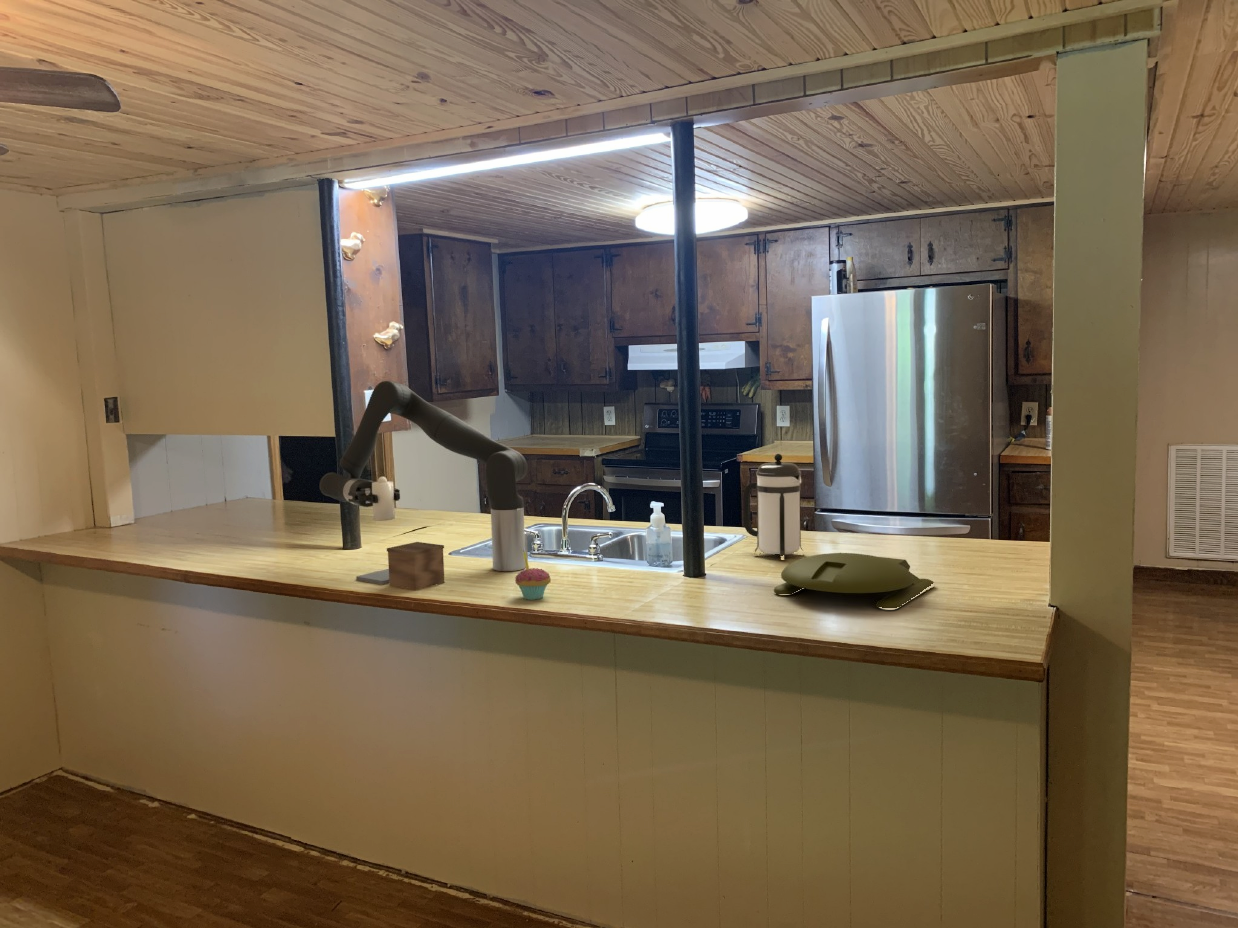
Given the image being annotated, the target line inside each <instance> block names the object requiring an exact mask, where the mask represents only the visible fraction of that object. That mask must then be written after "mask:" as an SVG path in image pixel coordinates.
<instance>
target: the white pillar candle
mask: <svg viewBox="0 0 1238 928" xmlns="http://www.w3.org/2000/svg"><path fill="white" fill-rule="evenodd" d="M394 488H395V487H394V481H393V480H392V481H390V480H388V479H387V477H385V476H380V477H379V478H378V479H377V481H373V483H372V494H375V495H377V496H378V503H373V506H372V514H373V520H374V521H377V522H385V521H393V520H395V519H396V517H395V516H396V515H395V513H396V512H395V500H394Z"/></svg>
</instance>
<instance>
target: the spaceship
mask: <svg viewBox="0 0 1238 928" xmlns="http://www.w3.org/2000/svg"><path fill="white" fill-rule="evenodd" d="M910 568H911V565H910V564H909V562H908V561H907V559H902V558H894V557H893V558H892V557H885V556H876V555H872V554H862V553H853V552H833V553H832V552H830V553H820V554H814V555H810V556H806V557H802V558H799V559H797V560H795V561H792V562H791V563H789V564H788V565H786V566H785V567H784V569H783V570H782V571H781V572H780V573H781V574H780V577H781V580H783V583H781V584H779V585H777V586H775V587H774V589H773V592H774V593H776V594H775V595H777V594H792V593H794V592H796V591H798V590H800V589H802V588H806V589H807V590H814V591H817V592H818V591H820V592H828V593H840V594H841V593H842V594H873V593H875V594H877V593H884V592H885V593H886V592H892V591H894V592H893V593H891V594H889V595H887V596H885V597H883V598H882V599H880V600H878V601H877V602H876V607H877V606H878V607H882V608H897V607H900V606H902V604H904V603H906V602H907V601H909V600H911V598H913V597H915V596H916V595H918V594H920V592H922V591H923V590H924V589H926V588H927V587H929V586H931V584H933V583H935V582H934V581H933V580H931V579H929V578H919V577H918V576H916V575H915V574H914V573H912V572H910ZM878 607H877V608H878ZM902 607H903V606H902Z"/></svg>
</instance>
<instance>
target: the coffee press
mask: <svg viewBox="0 0 1238 928" xmlns="http://www.w3.org/2000/svg"><path fill="white" fill-rule="evenodd" d="M773 458H774V460H775V462H772V461H771V462H764V463H762V464H760V465H759V466H758V469H757V471H755V474H756V477H757V482H752V483H749V484H748V485H746V487H745V489H744V492H743V496H742V497H743V500H742V504H743V505H742V506H743V507H742V508H743V509H742V513H743V516H742V517H743V525H744V528H745V531H746V532H747V533H748V534H749V535H750V536H752V537H756V548H755V549H754V551H755V553H756V552H757V550H759V551H760V552H763V553H762V554H767V555H775V554H780V556H783V555H785V556H786V555H790V554H791V553H792V554H795V553H794V552H799V550H800V549H801V550H803V549H802V548H803V547H802V540H801V534H802V533H801V532H802V531H801V530H802V529H801V525H802V524H801V521H802V520H801V519H802V518H801V517H802V516H801V484H802V477H801V475H802V471H801V470H800V469H799V466H797V465H796V464H795V463H793V462H785V461H782V460H783V455H782V454H780V453H776V454H775V455H774V456H773ZM754 489H755V490H756V530H755V529H754V528H753V527H752V525H751V494H752V491H753V490H754ZM792 554H791V555H792ZM780 556H779V557H780Z"/></svg>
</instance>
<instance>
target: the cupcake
mask: <svg viewBox="0 0 1238 928" xmlns="http://www.w3.org/2000/svg"><path fill="white" fill-rule="evenodd" d="M523 551H524V549H523ZM523 554H524V559H525V564H526V567H525V569H522V571H521V570H520V571H519V572H518V573H517V575H516V576H515V580H514V581H515V584H516V585H517V586H518V587H519V589H520V591H521V594H522V597H523V599H524V600H531V601H532V600H539V599H542V598H543V597H544V595H545V591H546V587H547V586H548V585H549V584H551V581H552V579H551V576H550V573H548V572H547V571H546V570H544V569H542V568H538V567H537V568H530V567H529V562H528V561H527V556H526V552H524V553H523Z"/></svg>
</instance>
